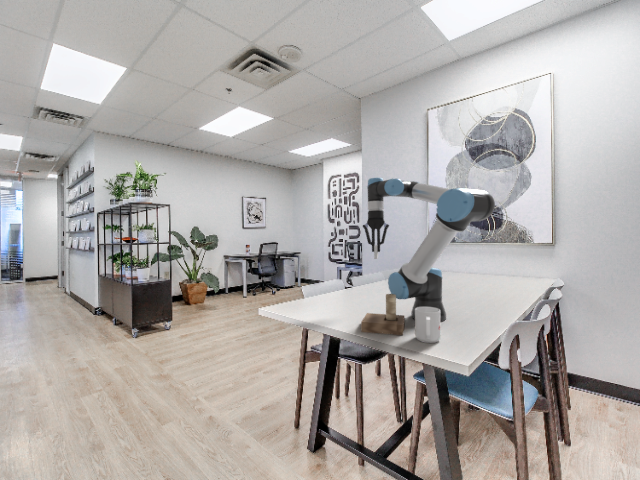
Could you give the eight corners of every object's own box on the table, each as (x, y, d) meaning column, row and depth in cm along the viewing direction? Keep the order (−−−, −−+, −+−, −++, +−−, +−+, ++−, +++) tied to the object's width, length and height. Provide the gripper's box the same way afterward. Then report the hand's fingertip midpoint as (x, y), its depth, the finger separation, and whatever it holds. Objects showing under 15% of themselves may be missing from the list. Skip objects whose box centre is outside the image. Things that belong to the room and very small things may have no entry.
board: (404, 324, 136) (404, 315, 136) (402, 335, 123) (402, 324, 123) (366, 322, 141) (366, 313, 141) (361, 331, 127) (361, 321, 127)
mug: (415, 334, 123) (414, 306, 123) (439, 336, 121) (439, 307, 120) (414, 345, 112) (414, 313, 111) (442, 347, 109) (441, 315, 109)
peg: (396, 327, 132) (396, 294, 132) (395, 330, 128) (395, 296, 128) (386, 326, 133) (386, 293, 133) (385, 329, 130) (385, 295, 129)
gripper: (390, 210, 157) (390, 258, 158) (363, 211, 161) (364, 257, 162) (388, 209, 150) (389, 259, 151) (361, 210, 154) (361, 259, 155)
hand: (376, 258), depth 156 cm, fingers closed
